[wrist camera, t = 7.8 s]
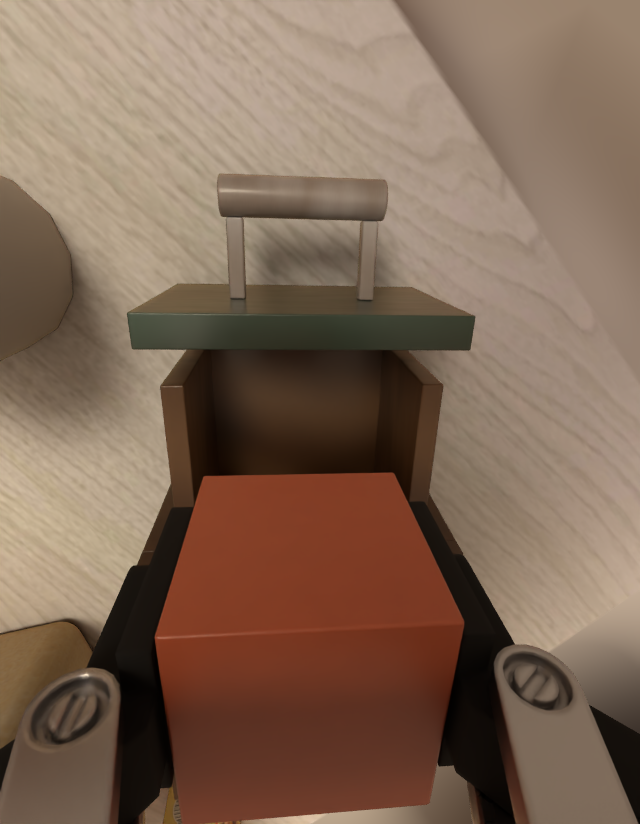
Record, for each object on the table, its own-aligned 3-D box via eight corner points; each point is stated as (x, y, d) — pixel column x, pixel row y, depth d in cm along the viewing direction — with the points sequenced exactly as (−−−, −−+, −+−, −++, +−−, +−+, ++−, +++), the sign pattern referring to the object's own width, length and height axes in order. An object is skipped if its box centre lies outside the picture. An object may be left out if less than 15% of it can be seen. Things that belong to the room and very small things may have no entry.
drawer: (168, 182, 20) (104, 156, 13) (422, 190, 21) (498, 172, 14) (199, 520, 26) (169, 630, 19) (389, 515, 27) (429, 617, 20)
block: (203, 474, 10) (152, 638, 6) (394, 471, 11) (466, 622, 7) (214, 622, 12) (180, 827, 8) (379, 614, 12) (430, 805, 8)
